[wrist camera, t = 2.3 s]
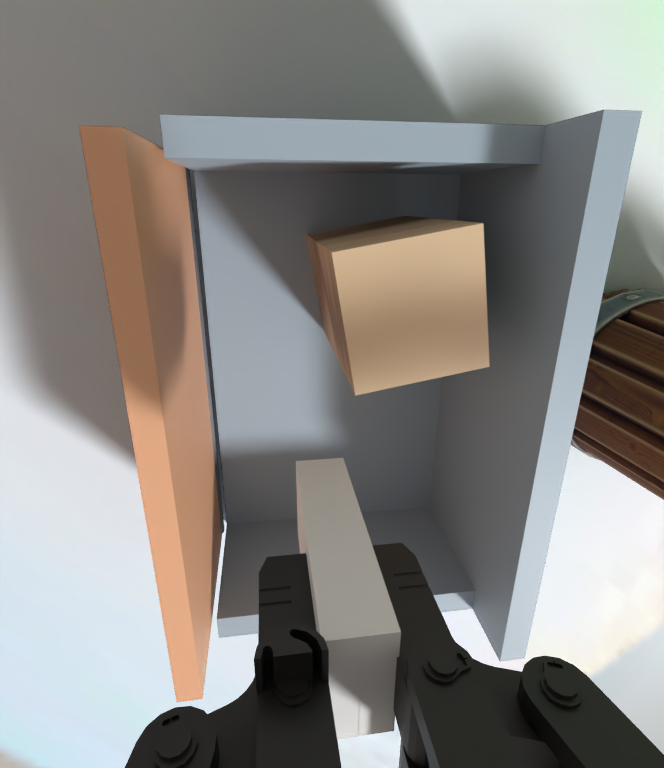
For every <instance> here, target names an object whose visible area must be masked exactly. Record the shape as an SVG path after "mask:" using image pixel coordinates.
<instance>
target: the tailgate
mask: <svg viewBox="0 0 664 768" xmlns="http://www.w3.org/2000/svg"><path fill="white" fill-rule="evenodd" d="M79 129H80V135H81V141H82V147H83V153H84V159H85V165H86V170H87V176H88V182H89V188H90V194H91V200H92V206H93V212H94V218H95V223H96V229H97V235H98V241H99V247H100V253H101V259H102V265H103V271H104V276H105V282H106V288H107V294H108V300H109V306H110V312H111V318H112V324H113V329H114V335H115V341H116V347H117V353H118V359H119V365H120V371H121V377H122V382H123V388H124V394H125V400H126V406H127V412H128V418H129V424H130V430H131V435H132V441H133V447H134V453H135V459H136V465H137V471H138V477H139V483H140V488H141V494H142V500H143V506H144V512H145V518H146V524H147V530H148V536H149V541H150V547H151V553H152V559H153V565H154V571H155V577H156V583H157V589H158V594H159V600H160V606H161V612H162V618H163V624H164V630H165V636H166V642H167V647H168V653H169V659H170V665H171V671H172V677H173V683H174V689H175V695H176V700H177V702H182V701H190V700H197V699H202V698H203V690H204V681H205V673H206V665H207V656H208V648H209V639H210V631H211V623H212V614H213V606H214V597H215V589H216V581H217V572H218V564H219V555H220V547H221V539H222V533H223V532H224V522H223V511H222V501H221V491H220V480H219V470H218V460H217V450H216V439H215V429H214V419H213V408H212V398H211V388H210V377H209V367H208V357H207V346H206V336H205V326H204V315H203V305H202V295H201V284H200V274H199V264H198V253H197V243H196V233H195V222H194V212H193V202H192V191H191V181H190V171H189V169H188V168H186V167H184V166H182V165H180V164H177V163H175V162H173V161H171V160H169V159H166V158H164V149H163V148H161V147H159V146H157V145H155V144H153V143H151V142H150V141H148V140H146V139H144V138H142V137H140V136H138V135H136V134H135V133H133V132H131V131H129V130H127V129H125V128H123V127H109V126H79Z"/></svg>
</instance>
